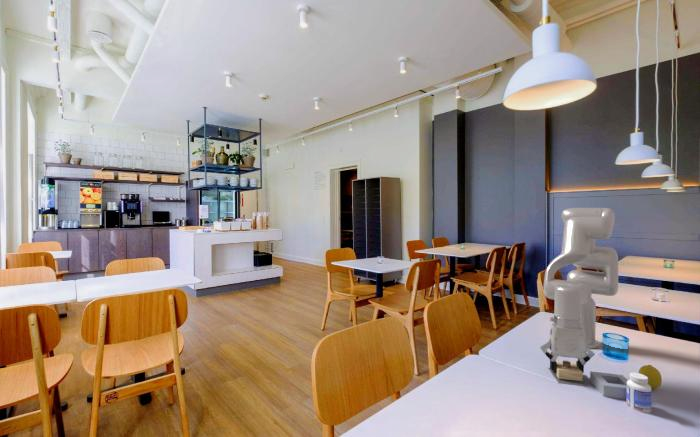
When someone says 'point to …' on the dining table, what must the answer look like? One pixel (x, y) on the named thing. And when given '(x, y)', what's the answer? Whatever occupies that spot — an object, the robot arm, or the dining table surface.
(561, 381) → the grey rectangular plate
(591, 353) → the robot arm
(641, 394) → the pill bottle
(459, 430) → the dining table surface
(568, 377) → the lid
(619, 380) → the grey square container
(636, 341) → the dining table surface
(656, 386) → the lemon
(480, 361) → the dining table surface
